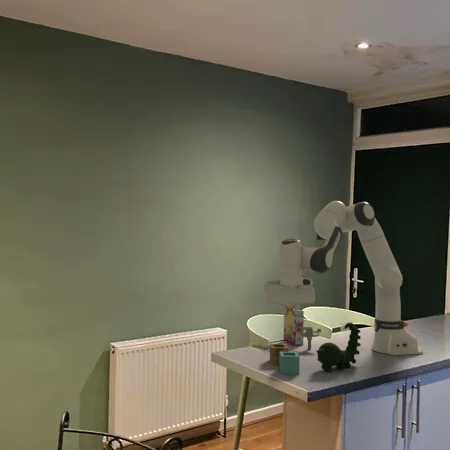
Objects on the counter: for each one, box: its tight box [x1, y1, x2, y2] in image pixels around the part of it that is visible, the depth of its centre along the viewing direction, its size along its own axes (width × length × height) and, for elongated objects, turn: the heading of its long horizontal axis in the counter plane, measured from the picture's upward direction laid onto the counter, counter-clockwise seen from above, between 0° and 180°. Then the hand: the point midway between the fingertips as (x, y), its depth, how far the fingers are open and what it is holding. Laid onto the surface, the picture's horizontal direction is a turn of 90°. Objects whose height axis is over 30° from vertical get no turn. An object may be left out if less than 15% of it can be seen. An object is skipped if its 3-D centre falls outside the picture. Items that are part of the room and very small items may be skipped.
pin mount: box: [269, 343, 289, 366], centre depth 226 cm, size 7×7×7 cm
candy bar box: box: [283, 307, 305, 346], centre depth 260 cm, size 11×5×16 cm, turn 23°
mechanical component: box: [298, 326, 322, 351], centre depth 248 cm, size 3×10×10 cm, turn 78°
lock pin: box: [284, 304, 296, 339], centre depth 213 cm, size 4×4×13 cm
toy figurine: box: [315, 322, 362, 372], centre depth 218 cm, size 9×19×25 cm
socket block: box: [278, 351, 301, 375], centre depth 213 cm, size 7×7×7 cm
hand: (289, 314), depth 213 cm, fingers closed on lock pin, 3 cm apart
